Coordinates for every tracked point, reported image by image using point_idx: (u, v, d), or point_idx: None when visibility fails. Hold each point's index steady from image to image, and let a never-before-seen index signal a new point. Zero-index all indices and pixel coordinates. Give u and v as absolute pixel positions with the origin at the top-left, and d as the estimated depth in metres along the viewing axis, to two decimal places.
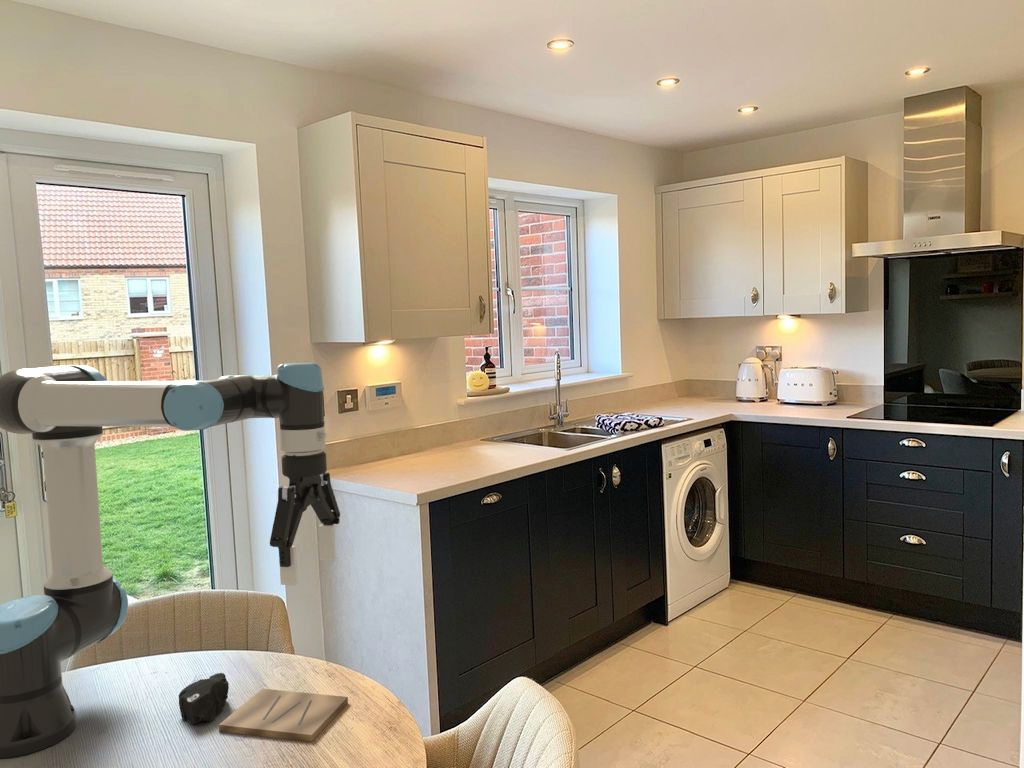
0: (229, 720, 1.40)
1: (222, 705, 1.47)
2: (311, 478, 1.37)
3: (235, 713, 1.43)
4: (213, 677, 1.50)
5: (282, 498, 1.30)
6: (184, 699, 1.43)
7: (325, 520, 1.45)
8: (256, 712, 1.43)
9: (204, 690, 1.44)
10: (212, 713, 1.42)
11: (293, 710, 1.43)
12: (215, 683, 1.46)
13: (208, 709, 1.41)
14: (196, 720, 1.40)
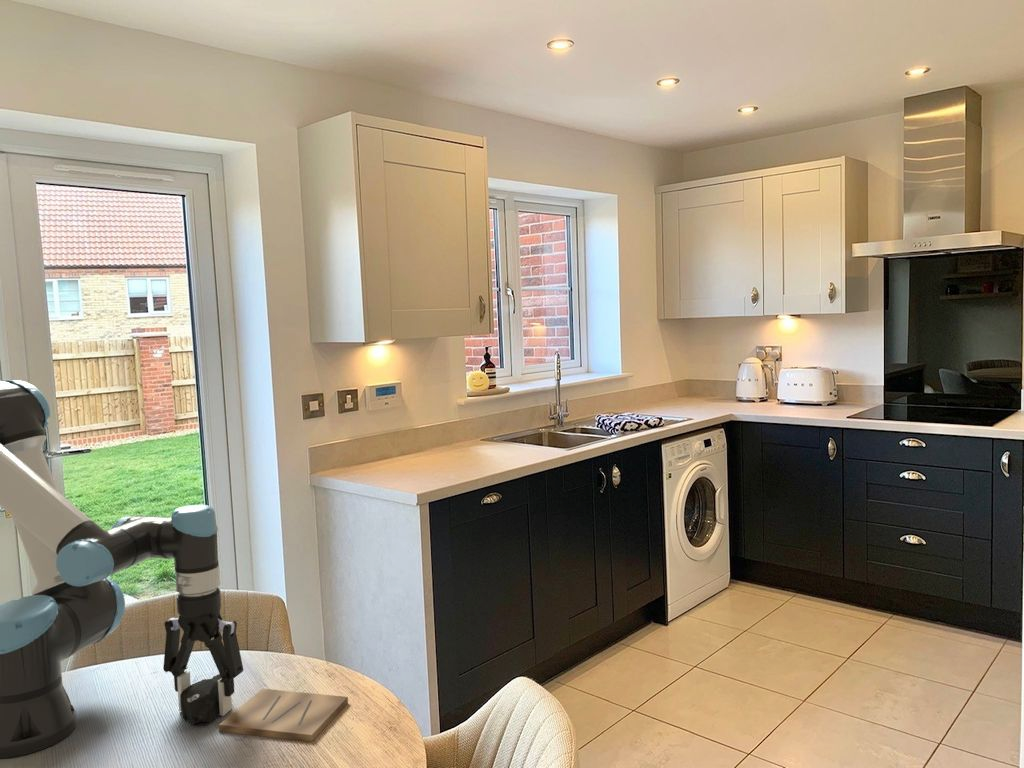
0: (229, 720, 1.40)
1: None
2: (197, 617, 1.44)
3: (235, 713, 1.43)
4: (216, 677, 1.50)
5: None
6: (184, 699, 1.43)
7: None
8: (256, 712, 1.43)
9: (204, 690, 1.43)
10: (211, 714, 1.42)
11: (293, 710, 1.43)
12: (216, 684, 1.45)
13: (207, 710, 1.41)
14: (195, 721, 1.40)
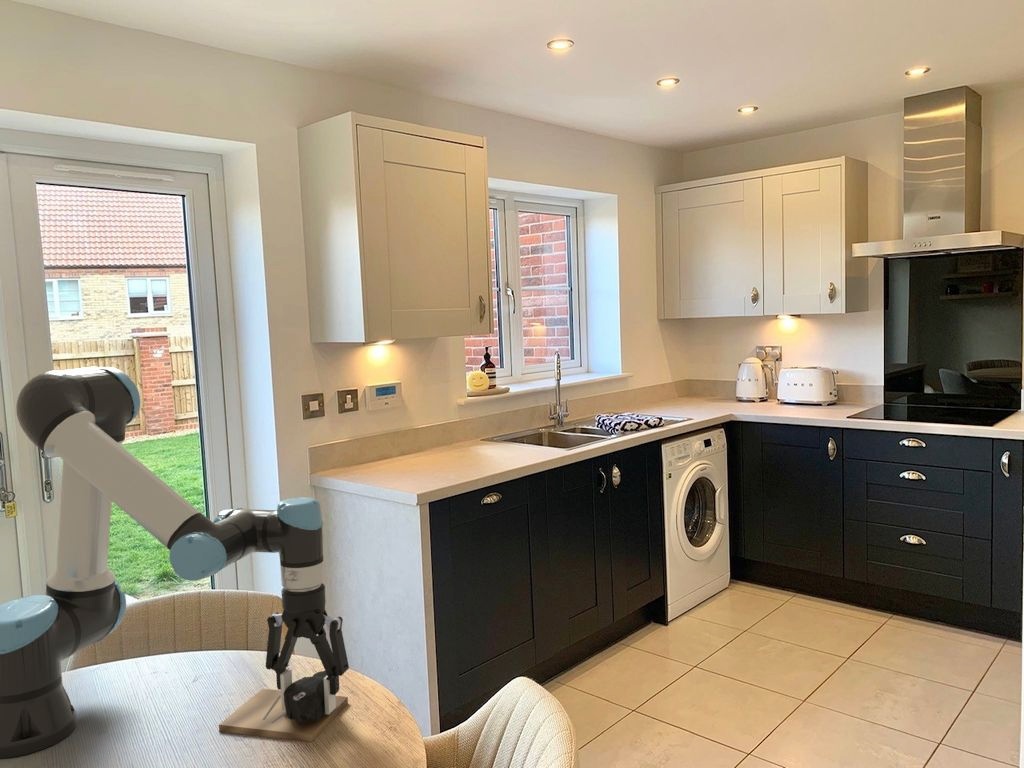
0: (229, 720, 1.40)
1: None
2: (302, 613, 1.40)
3: (235, 713, 1.43)
4: (317, 675, 1.46)
5: None
6: (290, 697, 1.39)
7: None
8: (256, 712, 1.43)
9: (310, 688, 1.39)
10: (318, 712, 1.37)
11: None
12: (321, 682, 1.41)
13: (314, 709, 1.37)
14: (303, 719, 1.36)
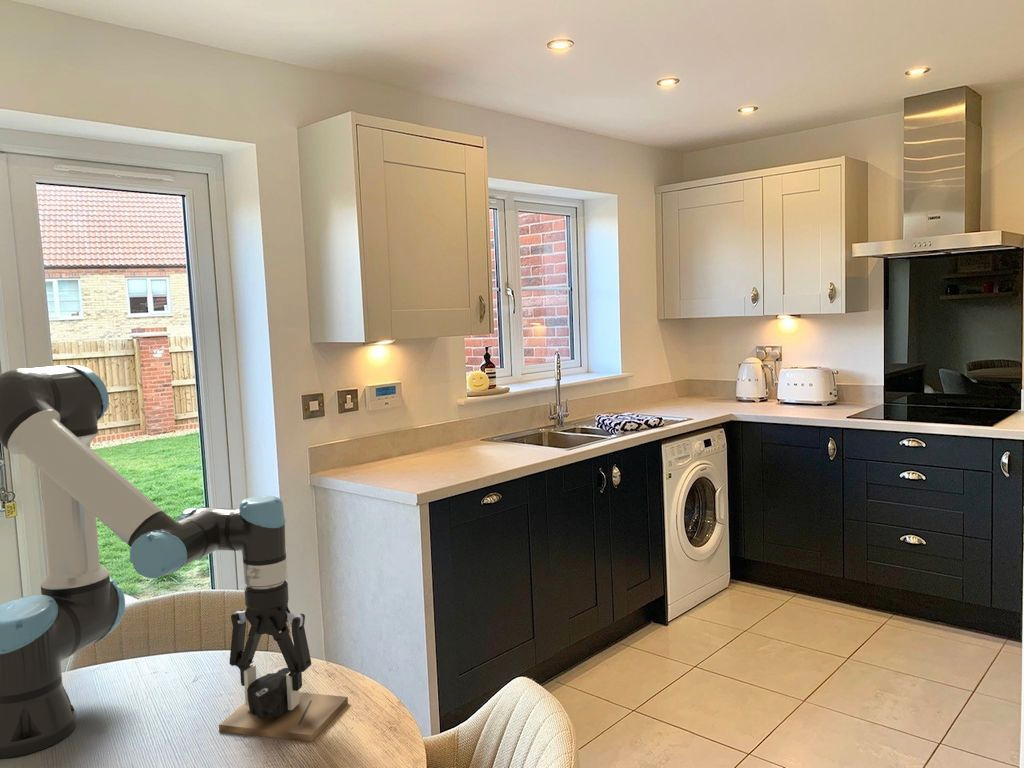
0: (229, 720, 1.40)
1: None
2: (265, 610, 1.42)
3: (235, 713, 1.43)
4: (281, 671, 1.47)
5: None
6: (253, 693, 1.41)
7: None
8: None
9: (273, 684, 1.41)
10: (280, 708, 1.39)
11: (293, 710, 1.43)
12: (284, 678, 1.43)
13: (276, 705, 1.38)
14: (265, 715, 1.37)
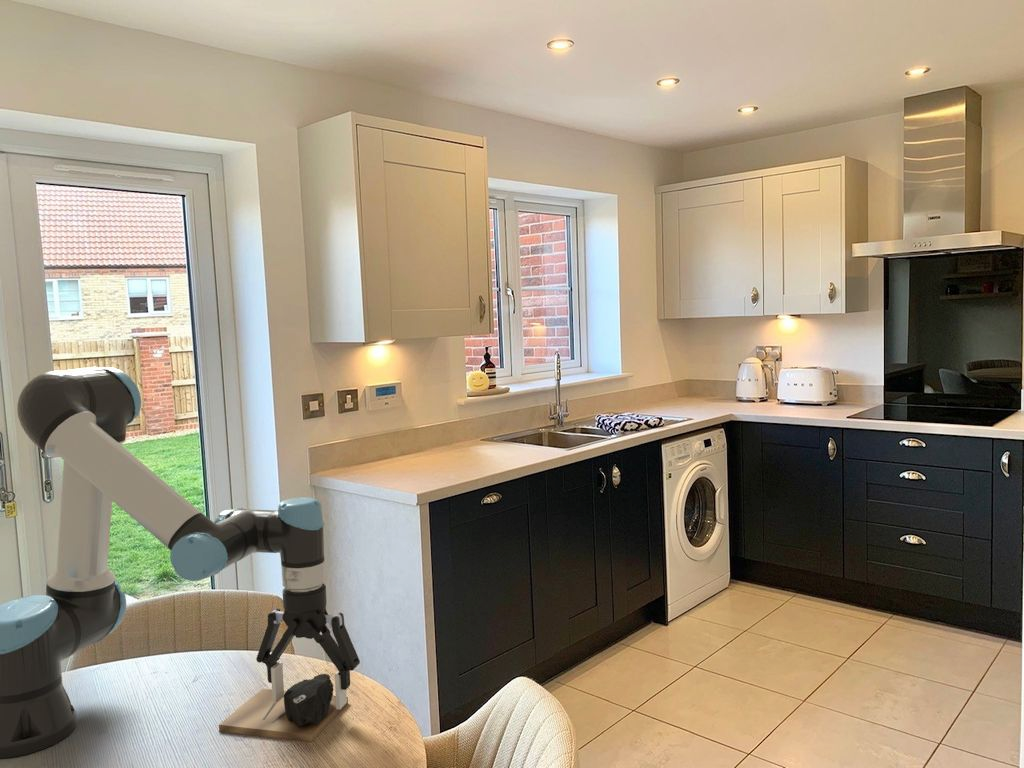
0: (229, 720, 1.40)
1: (327, 707, 1.42)
2: (303, 613, 1.40)
3: (235, 713, 1.43)
4: (317, 678, 1.46)
5: None
6: (290, 700, 1.39)
7: None
8: (256, 712, 1.43)
9: (310, 691, 1.39)
10: (318, 715, 1.38)
11: None
12: (321, 685, 1.41)
13: (314, 712, 1.37)
14: (303, 722, 1.36)
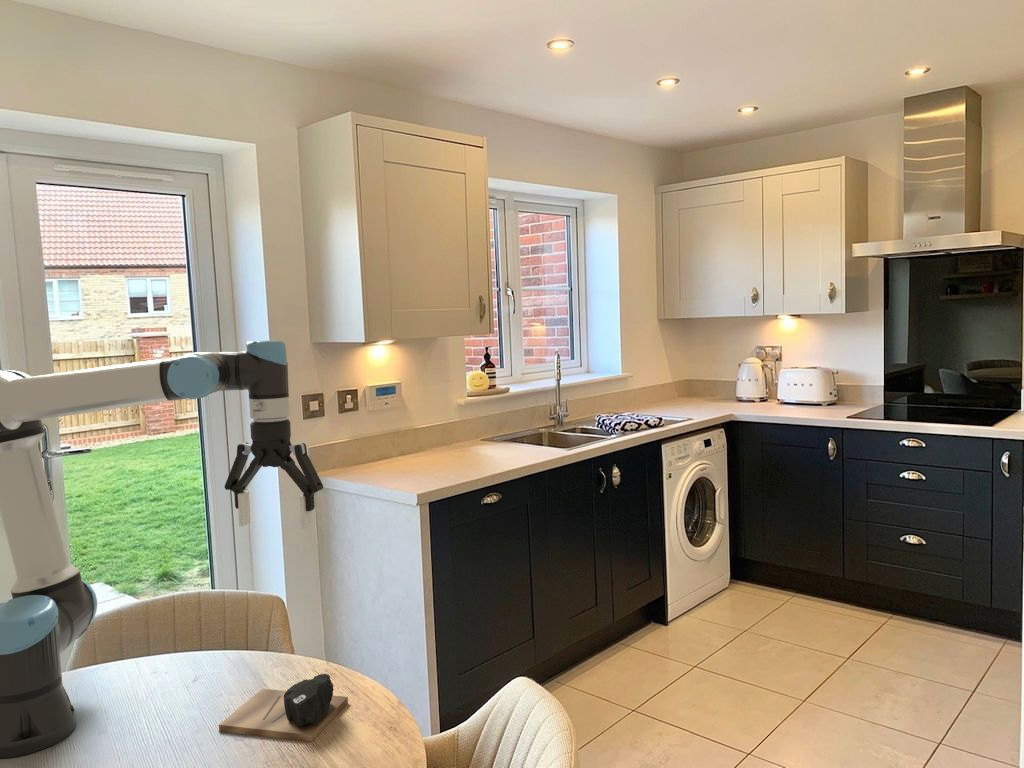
0: (229, 720, 1.40)
1: (327, 707, 1.42)
2: (269, 443, 1.53)
3: (235, 713, 1.43)
4: (317, 678, 1.46)
5: None
6: (290, 700, 1.39)
7: None
8: (256, 712, 1.43)
9: (310, 691, 1.39)
10: (318, 715, 1.38)
11: None
12: (321, 685, 1.41)
13: (314, 712, 1.37)
14: (303, 722, 1.36)
